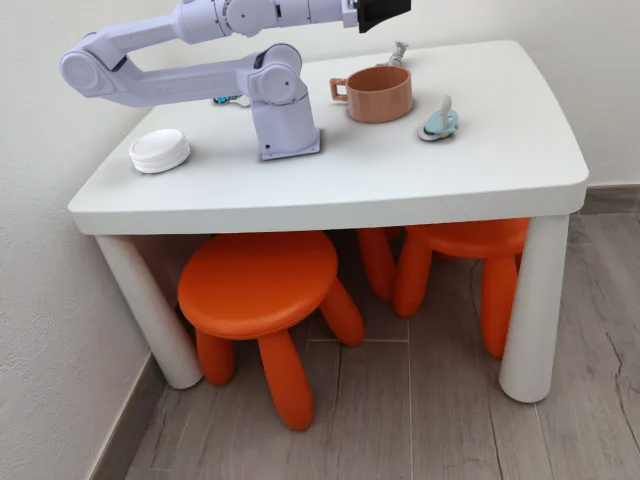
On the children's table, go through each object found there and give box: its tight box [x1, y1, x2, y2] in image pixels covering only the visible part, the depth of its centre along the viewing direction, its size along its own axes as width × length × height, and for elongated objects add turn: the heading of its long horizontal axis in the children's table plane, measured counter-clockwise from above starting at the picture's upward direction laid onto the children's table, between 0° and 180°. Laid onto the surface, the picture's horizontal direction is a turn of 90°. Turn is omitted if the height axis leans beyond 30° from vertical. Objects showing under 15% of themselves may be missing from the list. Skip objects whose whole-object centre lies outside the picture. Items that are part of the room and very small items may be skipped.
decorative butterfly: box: [211, 95, 251, 107], centre depth 104 cm, size 10×6×10 cm
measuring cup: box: [329, 65, 414, 124], centre depth 90 cm, size 15×11×6 cm
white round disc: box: [128, 128, 191, 174], centre depth 88 cm, size 10×10×4 cm
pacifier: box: [417, 94, 459, 141], centre depth 78 cm, size 7×6×6 cm
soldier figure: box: [375, 40, 410, 67], centre depth 101 cm, size 8×5×12 cm
